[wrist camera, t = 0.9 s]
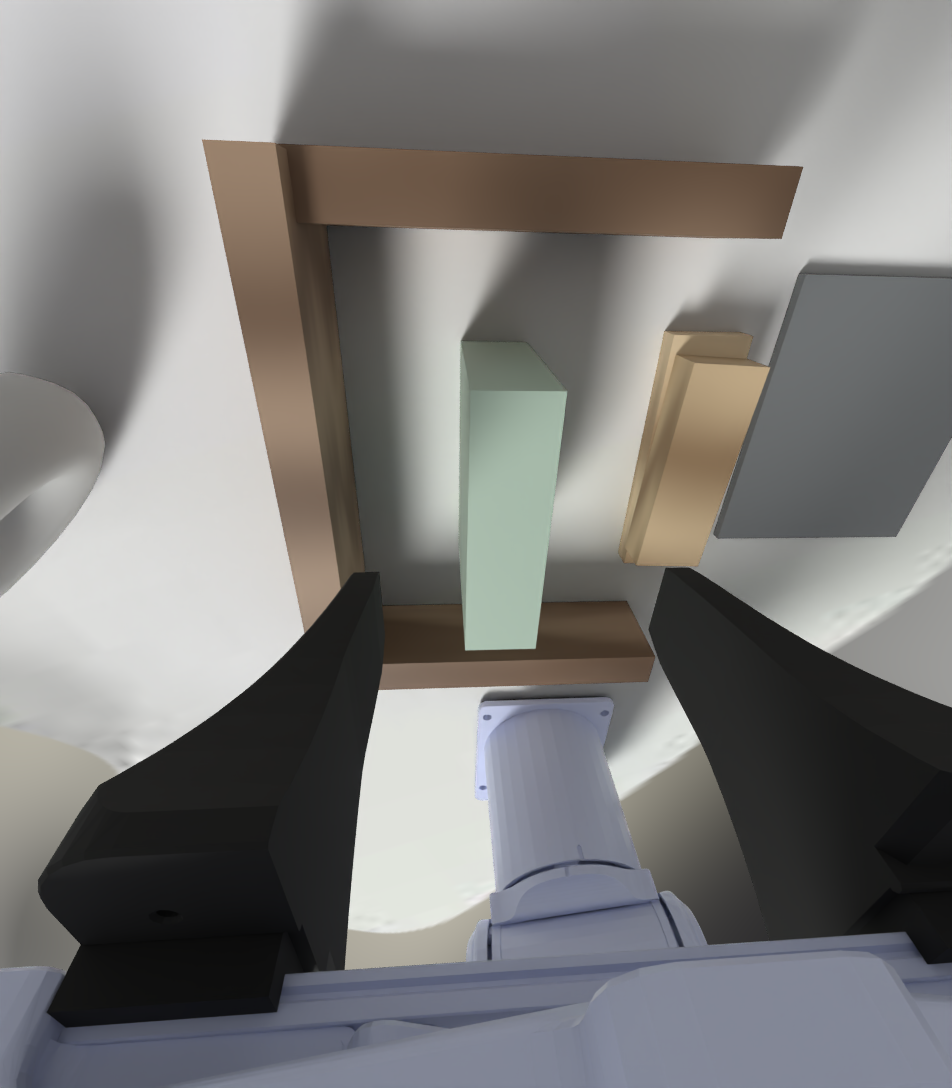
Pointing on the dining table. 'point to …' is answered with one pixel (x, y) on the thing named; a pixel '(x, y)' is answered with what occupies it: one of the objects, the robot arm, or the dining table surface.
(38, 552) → the donut
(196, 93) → the dining table surface
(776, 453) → the mat
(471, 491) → the board
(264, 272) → the frame
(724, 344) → the offcut lower
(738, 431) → the offcut upper
